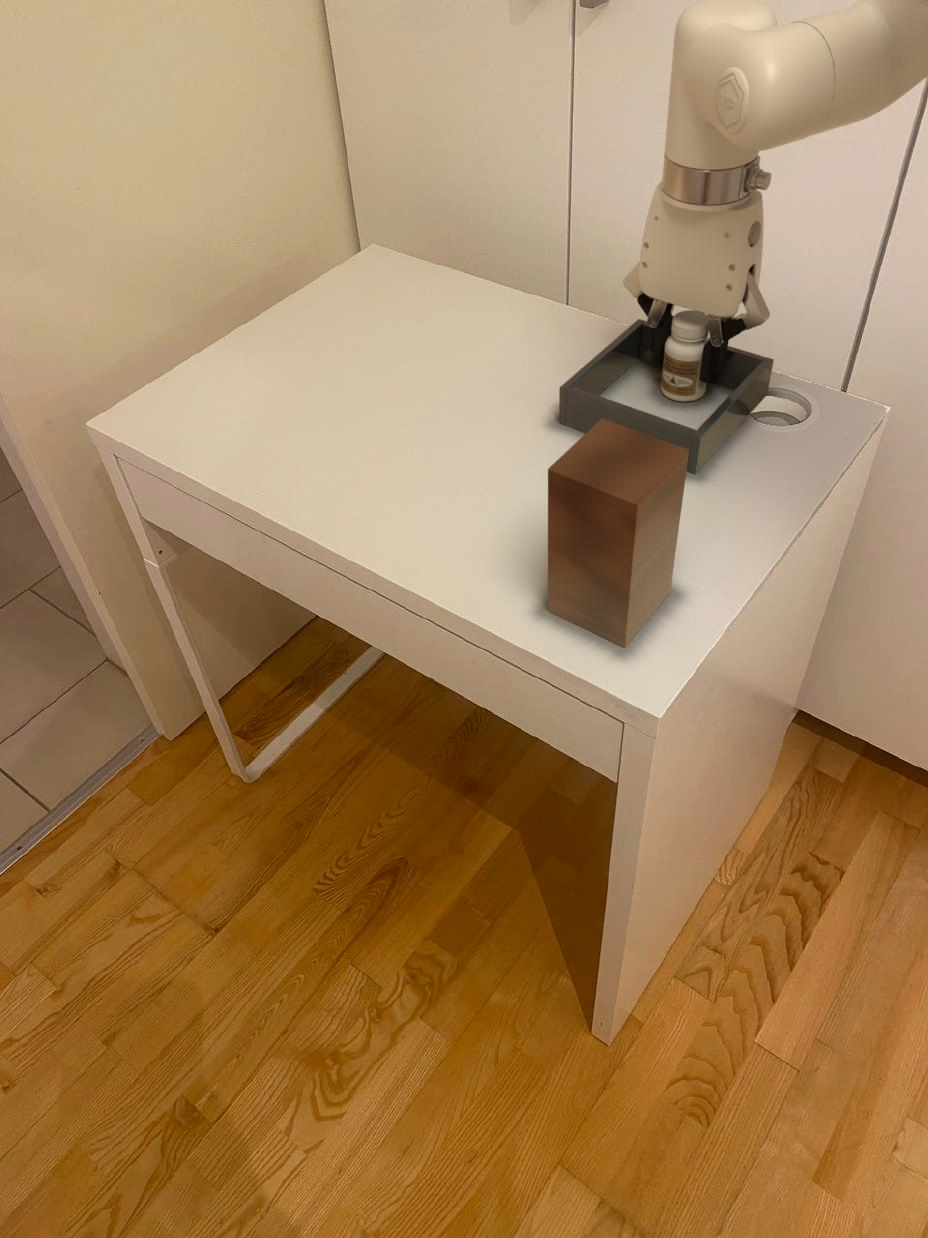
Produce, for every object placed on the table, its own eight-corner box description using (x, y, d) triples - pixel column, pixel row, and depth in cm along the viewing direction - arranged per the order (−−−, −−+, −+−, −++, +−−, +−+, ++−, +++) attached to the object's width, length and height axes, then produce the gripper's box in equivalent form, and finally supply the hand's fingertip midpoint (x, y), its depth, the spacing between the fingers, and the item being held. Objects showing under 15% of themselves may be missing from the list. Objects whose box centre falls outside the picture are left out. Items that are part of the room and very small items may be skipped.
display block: (670, 593, 76) (689, 449, 65) (624, 648, 72) (637, 505, 62) (594, 559, 79) (601, 417, 69) (547, 610, 75) (547, 468, 65)
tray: (766, 395, 93) (774, 359, 90) (695, 474, 86) (700, 437, 83) (636, 353, 100) (638, 318, 97) (558, 422, 92) (559, 387, 89)
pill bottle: (652, 394, 94) (658, 323, 89) (674, 373, 97) (681, 302, 91) (692, 408, 92) (701, 335, 87) (713, 386, 95) (723, 314, 89)
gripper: (824, 178, 78) (784, 374, 91) (642, 141, 85) (629, 327, 99) (785, 214, 74) (749, 413, 87) (597, 172, 81) (590, 361, 95)
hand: (685, 366), depth 93 cm, fingers closed on pill bottle, 4 cm apart
